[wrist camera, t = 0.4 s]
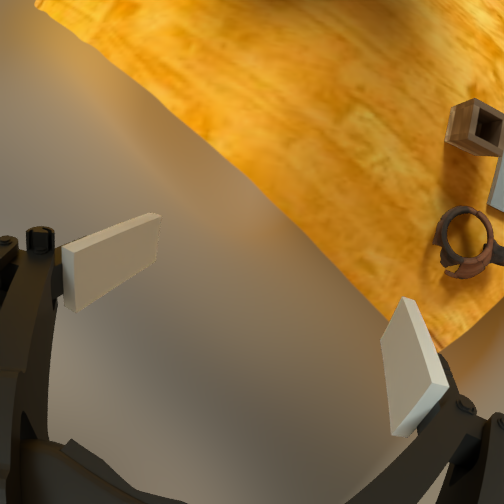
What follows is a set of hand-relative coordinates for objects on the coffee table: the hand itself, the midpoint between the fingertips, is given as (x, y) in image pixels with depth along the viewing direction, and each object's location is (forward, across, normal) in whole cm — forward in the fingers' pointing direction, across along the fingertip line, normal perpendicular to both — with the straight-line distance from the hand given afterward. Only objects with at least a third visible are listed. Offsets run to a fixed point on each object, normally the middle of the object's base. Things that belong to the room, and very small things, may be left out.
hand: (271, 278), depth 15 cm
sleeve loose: (+26, +17, +16) cm, 35 cm away
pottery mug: (+27, +22, +2) cm, 35 cm away
